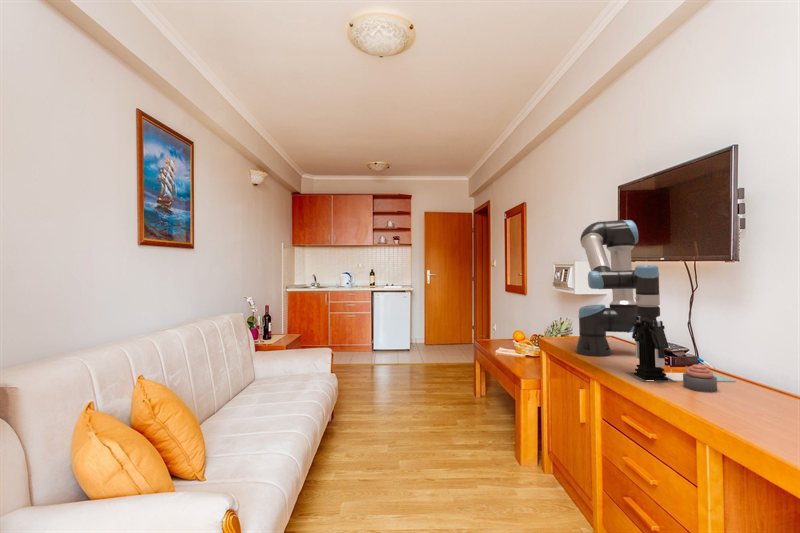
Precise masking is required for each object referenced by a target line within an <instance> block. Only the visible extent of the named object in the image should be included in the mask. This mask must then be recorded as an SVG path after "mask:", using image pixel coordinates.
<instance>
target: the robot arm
mask: <svg viewBox="0 0 800 533" xmlns="http://www.w3.org/2000/svg"><path fill="white" fill-rule="evenodd" d="M579 241H580V244H581V247H582V248H583V249H584V251H585V254H586V258H587V261H588V264H589V265H588V266H589V268H590V271H589V272H588V274H587V284H588V287H589V289H592V290H593V289H594V290H612V301H611V302H610V303H609V307H606V305H605V304H588V305H584V306H581V307H580V308H579V309H578V325H579V327H578V329H579V330H578V332H579V333H578V334H579V337H578V339H577V342H576V345H575V353H577V354H579V353H580V355H583V354H584V356H591V357H607V356H610V355H612V353H611V351H612V349H611V347H610V344H609V342H608V339H607V333H628V334H629V333H632V335H631V338H632V339H634V341H635V358H636V359H639V341H638V340H637V338H639V333H638V332H635V327H634V326H633V323H639V324H640V327H641V325H646V326H648V331H649V333H650V334H651V336H652V339H653V341H654V343H655V346H656V347H655V366H656V367H661V368H665V367H666V364H665V363H666V362H665V358H666V357H665V350H666V349H669V348H670V347H669V343H668V340H667V339H668V338H667V335H666V334H665V329H663V326H664V324H663V321H662V320H657V318H659V317H660V316H661V307H660V305H661V300H660V299H661V298H660V297H661V296H660V272H659V267H658V265H656V264H647V265H645V264H644V265H643V264H642V265H635V267H634V269H633V267H632V264H633V263H632V250H633V249H634V248H635V245H636V244H638V242H639V230H638V226H637V224H636V223H635V222H634V221H633V220H631V219H625V220H624V219H619V220H608V221H607V220H606V221H605V220H603V221H597V222H593V223H591V224H589V225H588V226H587V227H585V228H584V229H583V231H582V233H581V234H580V240H579ZM604 246H606V250H608V251H609V254H610V262H609V259H608V257H607V254H606V251H605V249H604ZM634 290H635V297H634ZM634 299H635V300H634Z"/></svg>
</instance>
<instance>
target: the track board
mask: <svg viewBox="0 0 800 533" xmlns="http://www.w3.org/2000/svg"><path fill="white" fill-rule="evenodd" d="M633 372H634V371H627V372H625V373H626V374H627V375H629V376H630V377H633V378H635V379H636V380H637V381H640V382H641V383H677V382H678V383H679V382H680V383H681V382H682V383H683V373H684V372H664V373H665V374H666V376H664V377H666V378H668V381H645V380H643V379H641V378H639V377H637V376H635V375H633ZM713 376H714V377H716V378H717V383H737V380H735V379H733V378H730V377H728V376H725V375H722V374H719V373H716V372H713Z"/></svg>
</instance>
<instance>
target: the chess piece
mask: <svg viewBox="0 0 800 533" xmlns="http://www.w3.org/2000/svg"><path fill="white" fill-rule="evenodd" d="M633 326H634V327H635V332H638V333H639V338H637V340H638V341H639V358H638V359H639V364H636V366H635V368H634V371H635V372H634V371H632V372H633V374H632V375H634V376H636V377H638V378H640V379H642V380H643V381H645V380H654V381H669V379H668V378H666V377H664V376H666V374H665V373H666V372H665V369H664V367H656V366H655V347H656V346H655V343H654V341H653V339H652V336H651V334H650V333H649V331H648V326H646V325H641V327H640V324H639V323H633ZM665 328H666V327H665V325H663V329H664V330H665Z"/></svg>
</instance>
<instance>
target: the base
mask: <svg viewBox="0 0 800 533" xmlns="http://www.w3.org/2000/svg"><path fill="white" fill-rule="evenodd" d="M682 373H683V382H682V386H683V388H686V389H688V390H690V391H695V392H696V391H697V392H700V393H701V392H702V393H716V392H717V391H718V382H717V378H716V377H714V376H713V378H697V377H692V376H689V375H687V374H686V372H682Z"/></svg>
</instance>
